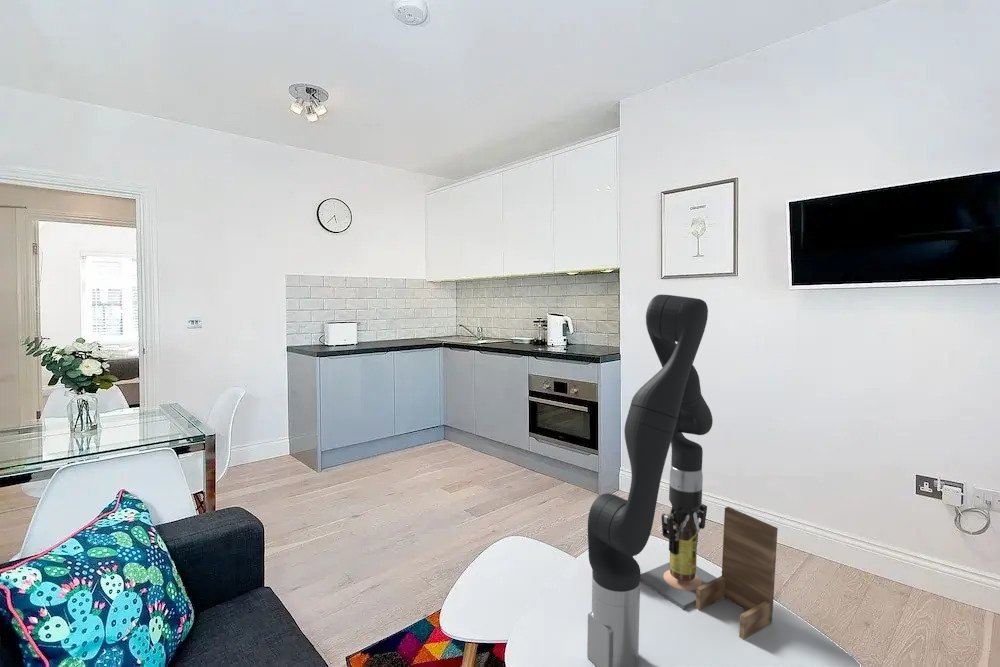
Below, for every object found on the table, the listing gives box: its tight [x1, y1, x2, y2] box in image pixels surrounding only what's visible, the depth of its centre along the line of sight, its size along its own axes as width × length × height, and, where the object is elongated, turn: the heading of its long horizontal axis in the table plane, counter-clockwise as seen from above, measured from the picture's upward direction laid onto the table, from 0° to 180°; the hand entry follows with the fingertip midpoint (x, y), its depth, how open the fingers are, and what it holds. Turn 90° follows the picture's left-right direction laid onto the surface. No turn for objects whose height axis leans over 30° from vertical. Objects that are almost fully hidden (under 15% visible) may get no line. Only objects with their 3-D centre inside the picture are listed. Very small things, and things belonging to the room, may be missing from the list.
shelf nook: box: [695, 506, 779, 640], centre depth 113 cm, size 10×12×22 cm
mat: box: [640, 561, 717, 610], centre depth 126 cm, size 16×14×1 cm
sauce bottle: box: [669, 509, 698, 581], centre depth 125 cm, size 7×6×20 cm
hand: (683, 549), depth 125 cm, fingers closed on sauce bottle, 6 cm apart
